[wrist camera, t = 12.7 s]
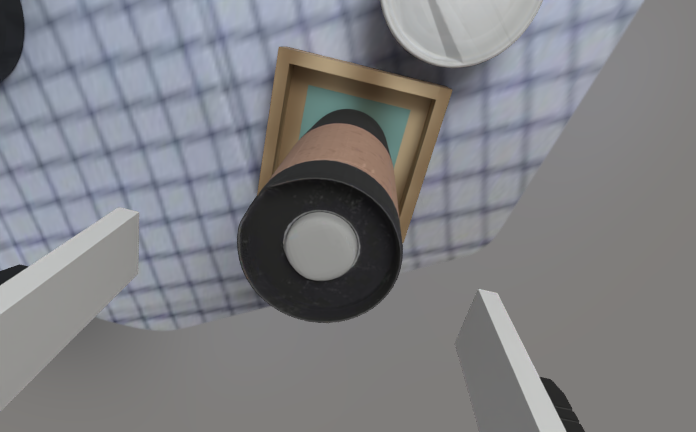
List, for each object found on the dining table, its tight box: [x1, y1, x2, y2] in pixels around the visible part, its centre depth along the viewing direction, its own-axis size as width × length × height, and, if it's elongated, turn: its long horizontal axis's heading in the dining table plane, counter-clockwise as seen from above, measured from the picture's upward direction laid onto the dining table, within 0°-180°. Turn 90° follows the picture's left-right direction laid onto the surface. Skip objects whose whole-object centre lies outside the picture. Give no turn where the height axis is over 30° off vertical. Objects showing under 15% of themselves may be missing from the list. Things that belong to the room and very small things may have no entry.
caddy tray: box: [257, 47, 452, 243], centre depth 36 cm, size 14×14×3 cm
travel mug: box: [237, 109, 403, 323], centre depth 27 cm, size 8×8×20 cm
